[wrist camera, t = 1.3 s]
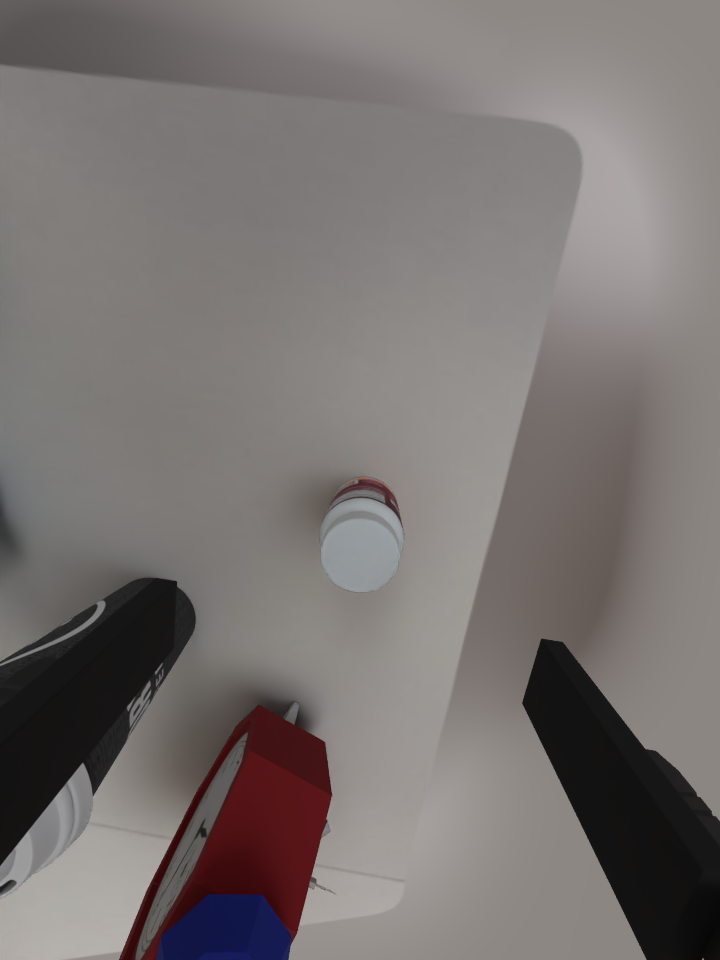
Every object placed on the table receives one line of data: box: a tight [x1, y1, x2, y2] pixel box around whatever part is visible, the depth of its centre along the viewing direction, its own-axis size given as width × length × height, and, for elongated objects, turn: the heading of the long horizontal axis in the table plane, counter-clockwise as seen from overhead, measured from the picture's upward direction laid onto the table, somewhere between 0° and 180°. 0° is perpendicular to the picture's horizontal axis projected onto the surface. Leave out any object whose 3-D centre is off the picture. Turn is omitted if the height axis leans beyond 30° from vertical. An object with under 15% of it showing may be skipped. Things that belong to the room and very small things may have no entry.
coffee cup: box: [0, 578, 195, 899], centre depth 22 cm, size 10×10×15 cm
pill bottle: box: [320, 477, 404, 593], centre depth 23 cm, size 5×5×8 cm
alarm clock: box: [119, 702, 335, 960], centre depth 22 cm, size 15×9×20 cm, turn 147°
